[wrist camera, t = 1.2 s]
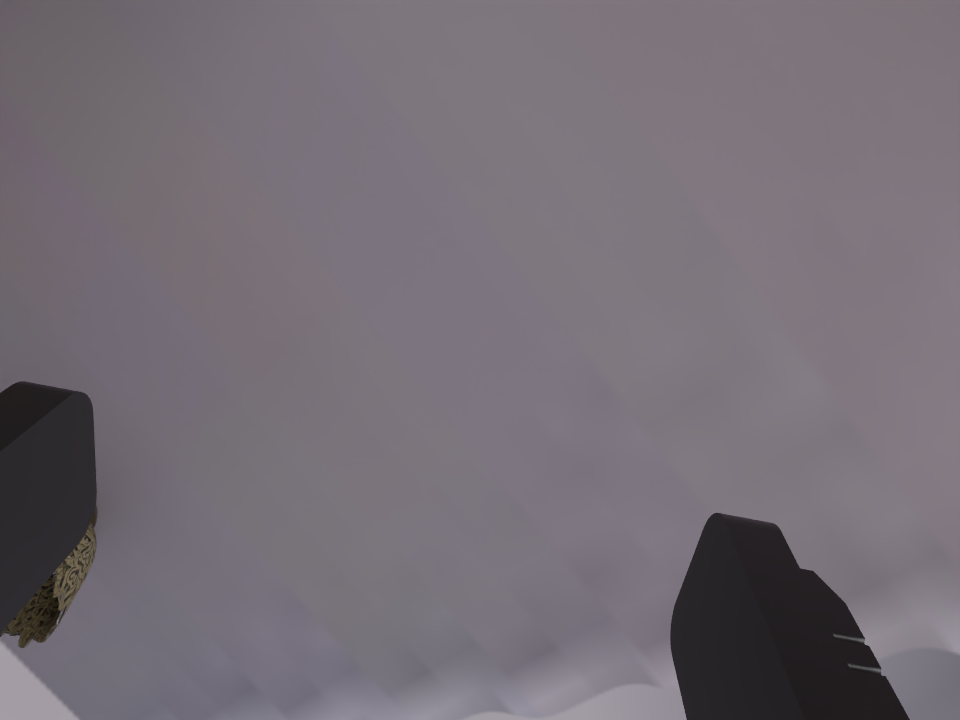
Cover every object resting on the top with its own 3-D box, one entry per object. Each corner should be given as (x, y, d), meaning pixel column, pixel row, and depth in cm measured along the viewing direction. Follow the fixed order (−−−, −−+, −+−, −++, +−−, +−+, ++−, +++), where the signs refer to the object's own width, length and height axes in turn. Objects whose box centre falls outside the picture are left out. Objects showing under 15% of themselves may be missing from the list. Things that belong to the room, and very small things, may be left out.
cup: (125, 462, 44) (45, 553, 37) (139, 557, 48) (68, 657, 40) (3, 447, 44) (-100, 535, 37) (25, 543, 48) (-66, 640, 41)
